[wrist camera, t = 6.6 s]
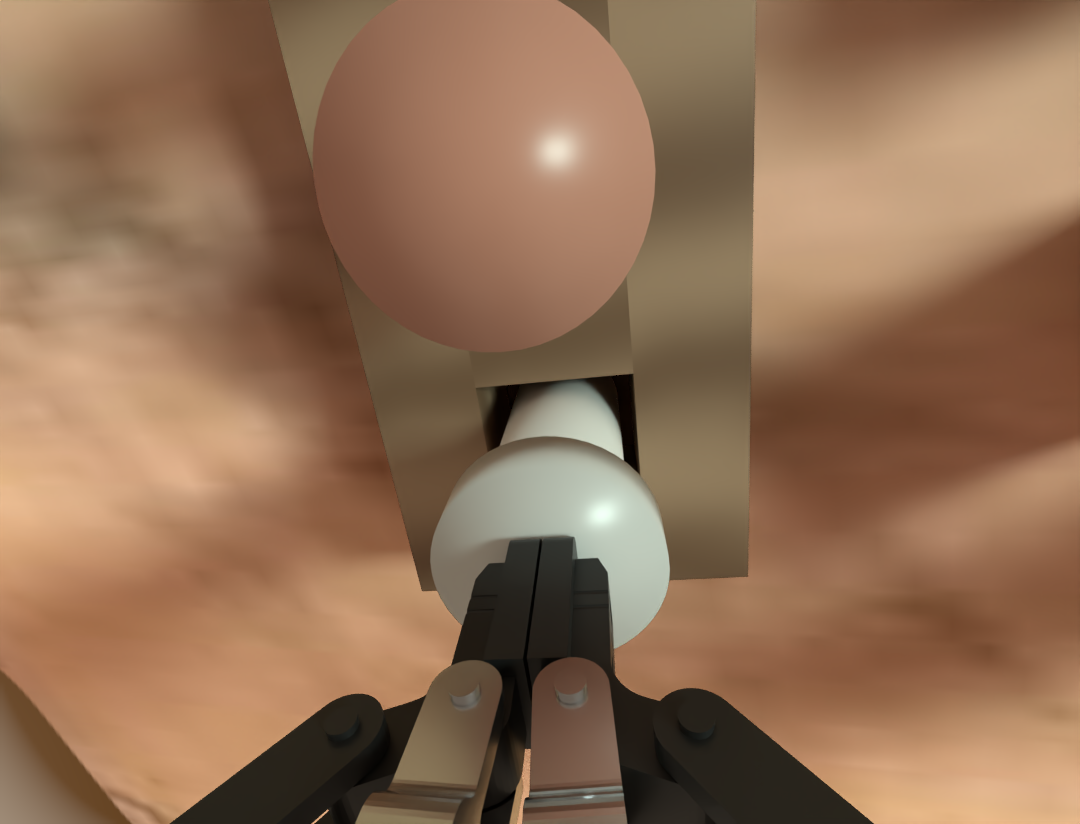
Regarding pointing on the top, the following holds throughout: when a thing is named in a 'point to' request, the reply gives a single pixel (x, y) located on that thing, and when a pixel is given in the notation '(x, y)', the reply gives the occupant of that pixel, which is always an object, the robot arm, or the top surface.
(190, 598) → the top surface
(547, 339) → the brown mushroom peg
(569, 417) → the grey plug
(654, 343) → the walnut socket board
